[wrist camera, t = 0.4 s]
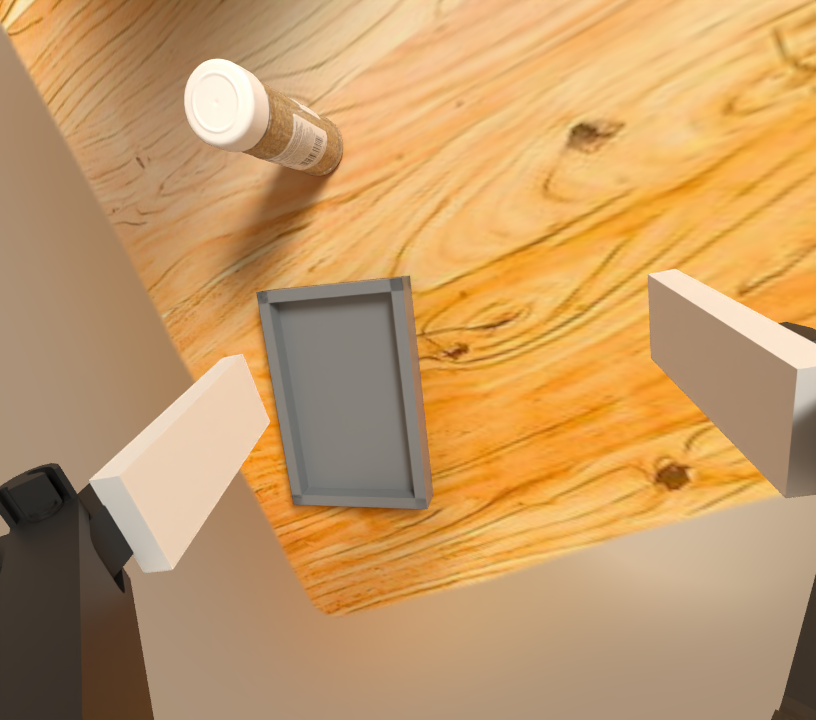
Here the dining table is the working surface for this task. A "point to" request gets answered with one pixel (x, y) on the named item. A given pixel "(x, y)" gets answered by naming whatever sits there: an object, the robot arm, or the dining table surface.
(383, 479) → the tray
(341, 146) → the sprinkles bottle
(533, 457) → the dining table surface
